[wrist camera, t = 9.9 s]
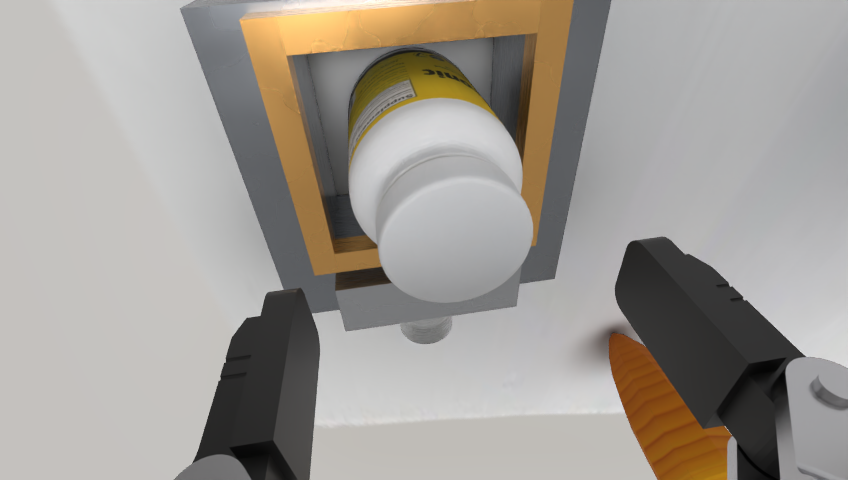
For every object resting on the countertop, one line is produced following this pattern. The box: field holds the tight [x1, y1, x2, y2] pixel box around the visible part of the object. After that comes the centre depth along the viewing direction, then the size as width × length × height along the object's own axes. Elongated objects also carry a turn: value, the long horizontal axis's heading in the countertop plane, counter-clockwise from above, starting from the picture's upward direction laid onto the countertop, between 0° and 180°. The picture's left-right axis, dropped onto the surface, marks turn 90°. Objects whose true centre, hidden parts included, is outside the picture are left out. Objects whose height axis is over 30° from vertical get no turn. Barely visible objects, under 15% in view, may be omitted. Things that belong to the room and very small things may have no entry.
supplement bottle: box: [348, 48, 533, 303], centre depth 14 cm, size 5×5×10 cm
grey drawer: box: [180, 0, 611, 344], centre depth 18 cm, size 13×17×5 cm
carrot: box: [609, 333, 731, 480], centre depth 25 cm, size 5×5×15 cm
